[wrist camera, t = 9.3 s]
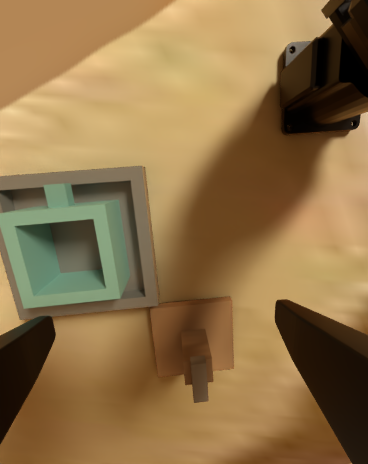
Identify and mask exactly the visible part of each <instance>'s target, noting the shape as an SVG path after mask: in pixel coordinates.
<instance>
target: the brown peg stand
mask: <svg viewBox="0 0 368 464" xmlns="http://www.w3.org/2000/svg"><path fill="white" fill-rule="evenodd" d="M150 317H151V325H152V333H153V340H154V348H155V356H156V364H157V372H158V377H165V376H173V375H182V374H184V376H185V385H191V384H192V386H193V397H194V403H197V402H206V401H208V385H207V382H213V371H216V370H225V369H234V354H233V316H232V300H231V298H230V296H229V297H219V298H210V299H200V300H190V301H180V302H170V303H160V304H158V306H152V307H150Z"/></svg>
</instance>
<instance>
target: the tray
mask: <svg viewBox="0 0 368 464" xmlns="http://www.w3.org/2000/svg"><path fill="white" fill-rule="evenodd" d="M63 183H71V188H72V193H73V198H74V203H85V202H96V201H108V200H119V205H120V212H121V218H122V225H123V232H124V238H125V245H126V251H127V258H128V265H129V271H130V277H129V280H128V282H127V284H126V287H125V289H124V291H123V294H122V296H121V298H120V299H112V300H102V301H93V302H83V303H74V304H64V305H55V306H45V307H36V308H26V309H24V308H23V304H22V301H21V297H20V294H19V290H18V287H17V283H16V280H15V276H14V273H13V269H12V266H11V262H10V259H9V255H8V252H7V248H6V245H5V242H4V238H3V235H2V231H1V228H0V252H1V256H2V259H3V263H4V266H5V270H6V273H7V277H8V280H9V284H10V287H11V291H12V294H13V297H14V301H15V304H16V308H17V311H18V315H19V318H20V320H25V319H34V318H36V317H38V316H46V315H49V316H51V317H54V316H64V315H74V314H83V313H93V312H103V311H113V310H123V309H132V308H142V307H152V306H158V303H159V287H158V278H157V269H156V260H155V252H154V243H153V234H152V225H151V216H150V207H149V199H148V190H147V181H146V172H145V167H143V166H133V167H119V168H106V169H92V170H79V171H65V172H52V173H39V174H25V175H12V176H0V213H4V212H10V211H15V210H20V209H25V208H31V207H38V206H48V203H47V199H46V195H45V190H44V186H43V185H50V184H63ZM49 225H50V229H51V233H52V238H53V242H54V246H55V250H56V255H57V259H58V263H59V268H60V272H61V273H70V272H80V271H90V270H100V269H102V263H101V258H100V252H99V247H98V241H97V236H96V230H95V225H94V219H87V220H76V221H65V222H54V223H49Z"/></svg>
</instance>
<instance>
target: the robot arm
mask: <svg viewBox="0 0 368 464" xmlns="http://www.w3.org/2000/svg"><path fill="white" fill-rule="evenodd" d="M321 11H322V12H323V14H324V15H325V17H326V19H327V18H328V17H329V18H330V20H331V21H332V23H333V24H332V25H331V26H330V27H329V28H328V29H327V30H326V31H325V32H324V33H323V34H322V35H321V36H320V37H316V38H315V39H314V40H313V41H306V42H292V43H290V44H288V46H287V47H286V48H285V50H284V55H283V71H282V72H281V88H280V107H281V108H282V127H281V129H282V133H283V134H284V135H295V134H309V133H324V132H338V131H350V130H354V129H356V128H357V127H358V126H359V123H360V114H362V113H365V112H368V0H329V2H328V3H327V4H326V5H325V6H324V8H323V9H322V10H321ZM289 49H292V51H293V54H291V53H290V51H289ZM351 122H353V125H351ZM287 126H290V130H289V131H288V130H287ZM275 323H276V325H277V327H278V330H279V332H280V334H281V336H282V339H283V341H284V343H285V345H286V347H287V350H288V352H289V354H290V356H291V358H292V360H293V362H294V364H295V366H296V367H297V369H298V371H299V373H300V374H301V376H302V378H303V379H304V381H305V383H306V385H307V386H308V388H309V390H310V392H311V393H312V395H313V397H314V398H315V400H316V402H317V404H318V405H319V407H320V409H321V411H322V412H323V414H324V416H325V418H326V419H327V421H328V423H329V424H330V426H331V428H332V430H333V431H334V433H335V435H336V437H337V438H338V440H339V442H340V443H341V445H342V447H343V449H344V450H345V452H346V454H347V456H348V457H349V459H350V461H351V462H352V464H368V335H366V334H364V333H362V332H360V331H357V330H355V329H353V328H351V327H348V326H346V325H344V324H342V323H339V322H337V321H335V320H333V319H330V318H328V317H326V316H324V315H321V314H319V313H317V312H314V311H312V310H310V309H308V308H305V307H303V306H301V305H299V304H296V303H294V302H292V301H290V300H287V299H283V300H277V301H276V305H275ZM55 336H56V333H55V328H54V324H53V319H52V317H51V316H49V315H46V316H38V317H36V318H34V319H32V320H30V321H28V322H26V323H24V324H22V325H20V326H18V327H16V328H14V329H12V330H10V331H8V332H6V333H5V334H3V335H1V336H0V444H1V443H2V441H3V439H4V437H5V435H6V434H7V432H8V430H9V428H10V427H11V425H12V423H13V421H14V419H15V418H16V416H17V414H18V412H19V410H20V409H21V407H22V405H23V403H24V402H25V400H26V398H27V396H28V394H29V393H30V391H31V389H32V387H33V385H34V384H35V382H36V380H37V378H38V376H39V374H40V371H41V369H42V367H43V365H44V363H45V360H46V358H47V356H48V354H49V351H50V349H51V347H52V345H53V342H54V340H55Z"/></svg>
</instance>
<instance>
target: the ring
mask: <svg viewBox="0 0 368 464" xmlns="http://www.w3.org/2000/svg"><path fill="white" fill-rule="evenodd" d="M43 186H44V190H45V195H46V199H47V203H48V206H38V207H31V208H25V209H20V210H15V211H10V212H4V213H0V228H1V231H2V235H3V238H4V242H5V245H6V248H7V252H8V255H9V259H10V262H11V266H12V269H13V273H14V276H15V280H16V283H17V287H18V290H19V294H20V297H21V301H22V304H23V308H24V309H26V308H36V307H45V306H55V305H64V304H74V303H83V302H93V301H102V300H112V299H120V298H121V296H122V294H123V291H124V289H125V287H126V284H127V282H128V280H129V277H130V271H129V265H128V258H127V251H126V245H125V238H124V232H123V225H122V218H121V212H120V205H119V200H108V201H96V202H85V203H74V198H73V193H72V188H71V183H63V184H50V185H43ZM87 219H94V225H95V230H96V236H97V241H98V247H99V252H100V258H101V263H102V269H100V270H90V271H80V272H70V273H61V272H60V268H59V263H58V259H57V255H56V250H55V246H54V242H53V238H52V233H51V229H50V225H49V223H54V222H65V221H76V220H87Z"/></svg>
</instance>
